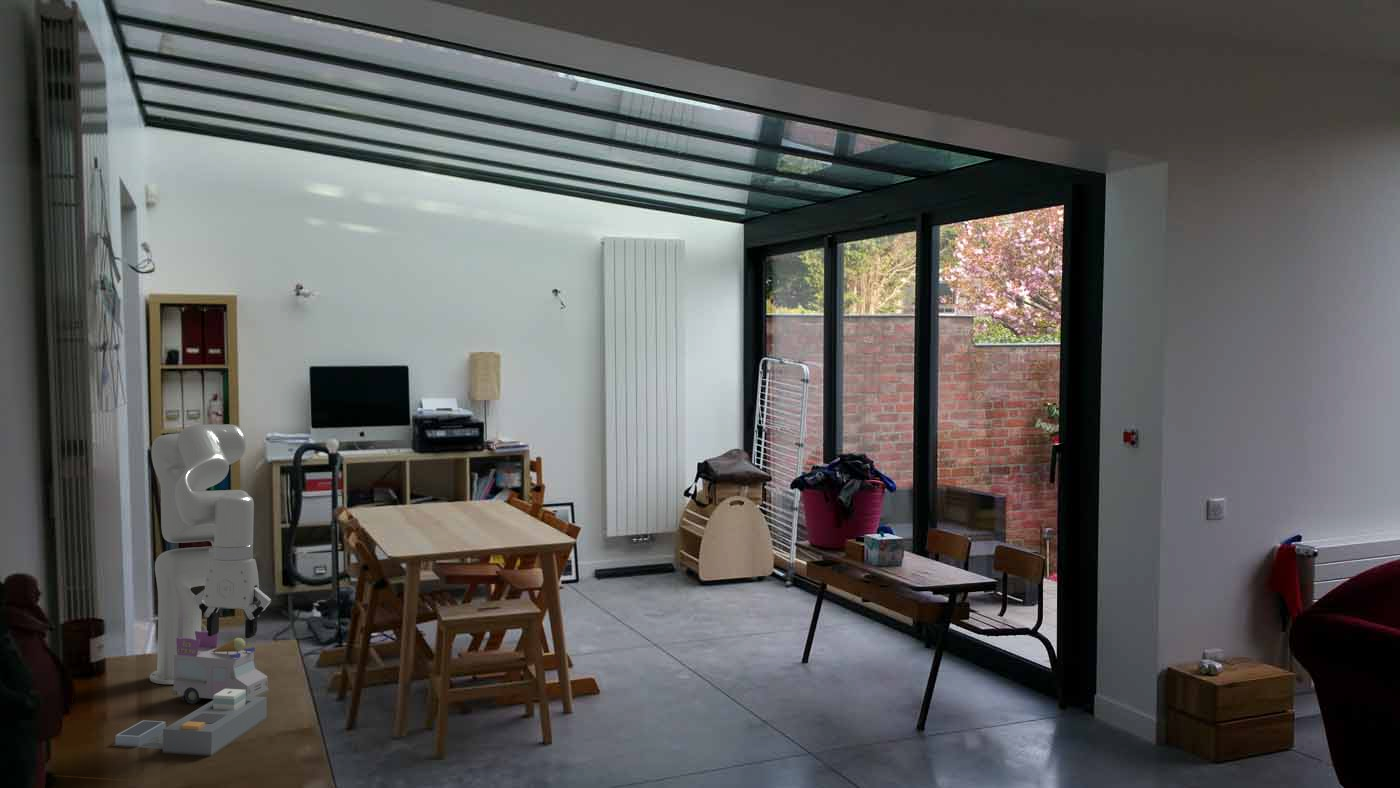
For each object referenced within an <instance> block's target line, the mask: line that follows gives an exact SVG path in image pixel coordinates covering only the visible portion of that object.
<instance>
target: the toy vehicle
mask: <svg viewBox="0 0 1400 788" xmlns="http://www.w3.org/2000/svg"><path fill="white" fill-rule="evenodd" d="M195 636H196V640H195V639H191V638H176V643H177V654H174V684H173V689H172V690H171V695H172V696H182V701H184V702H185V701H186V702H187V703H188V704H191V705H193V704H195V705H196V704H198V703H199V702H201V700H202V699H211V700H213V695H215V694H216V693H218V692H220V691H222V690H223V689H242V690H246V696H257V697H263V696H264V695H266V694H269V692H270V687H269V688H268V683H269V682H268V681H269V680H268V678H269V677H268V676H267V675H266V674H265V673H263V672H262V671H260V670H258V669H257V667H258V660H255V647H254V646H252V647H249V648H245V647H246V641H245V639H244V638H241V637H235V638H234V639H231V640H230V641H228V642H227V643H225V644H222V645H221V646H219V647H218V641H219V632H218V633H217V634H215V635H213V636H208V631H207V630H206V631H202V630H201V632H199V631H195Z"/></svg>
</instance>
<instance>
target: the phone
mask: <svg viewBox="0 0 1400 788" xmlns="http://www.w3.org/2000/svg"><path fill="white" fill-rule="evenodd" d="M166 727H167V722H166V721H163V720H162V721H161V720H160V721H158V720H145V719H143V720H141V721H139V722H137V723H136V724H133V725H132V726H130V727H129V728H127V729H124V730H123V731H120V732H119V733H117V734H115V742H114V744H115V745H128V746H140V745H142V744H144V743H145V742H147V741H149V740H151V739H152V738H154V737H156V736H157V735H159V734H161V733H163V729H164V728H166Z"/></svg>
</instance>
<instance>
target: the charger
mask: <svg viewBox="0 0 1400 788" xmlns="http://www.w3.org/2000/svg"><path fill="white" fill-rule="evenodd" d="M245 698H246V690H242V689H223V690H222V691H220V692H218V693H216V694H215V695H213V699H212V701H213V709H225V710H238V709H239V708H241V707H243V706H244V705H245Z"/></svg>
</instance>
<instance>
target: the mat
mask: <svg viewBox="0 0 1400 788" xmlns="http://www.w3.org/2000/svg"><path fill="white" fill-rule="evenodd" d="M111 747H125V748H127V747H128V748H142V749H143V748H144V749H145V748H146V749H159V750H160V749H161V750H163V733H161V734H159V735H157V736H156V737H154V738H152V739H151V740H149V741H147V742H145V743H144V744H142V745H140V746H128V745H115V743H113V744H112V745H111Z"/></svg>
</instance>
